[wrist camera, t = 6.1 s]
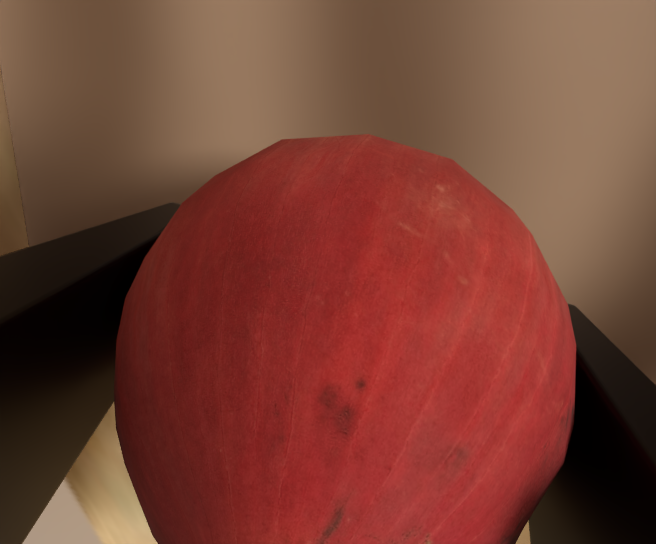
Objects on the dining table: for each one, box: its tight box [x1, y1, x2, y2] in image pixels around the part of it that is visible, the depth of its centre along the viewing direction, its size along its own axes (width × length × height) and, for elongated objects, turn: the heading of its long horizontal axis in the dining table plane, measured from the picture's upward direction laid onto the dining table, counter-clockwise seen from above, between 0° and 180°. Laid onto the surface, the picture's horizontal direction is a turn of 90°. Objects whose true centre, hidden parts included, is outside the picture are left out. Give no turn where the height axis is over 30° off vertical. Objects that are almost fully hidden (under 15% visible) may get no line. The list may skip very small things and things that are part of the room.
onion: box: [114, 134, 576, 544], centre depth 7 cm, size 6×6×8 cm
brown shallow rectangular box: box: [0, 0, 656, 385], centre depth 13 cm, size 17×12×6 cm
